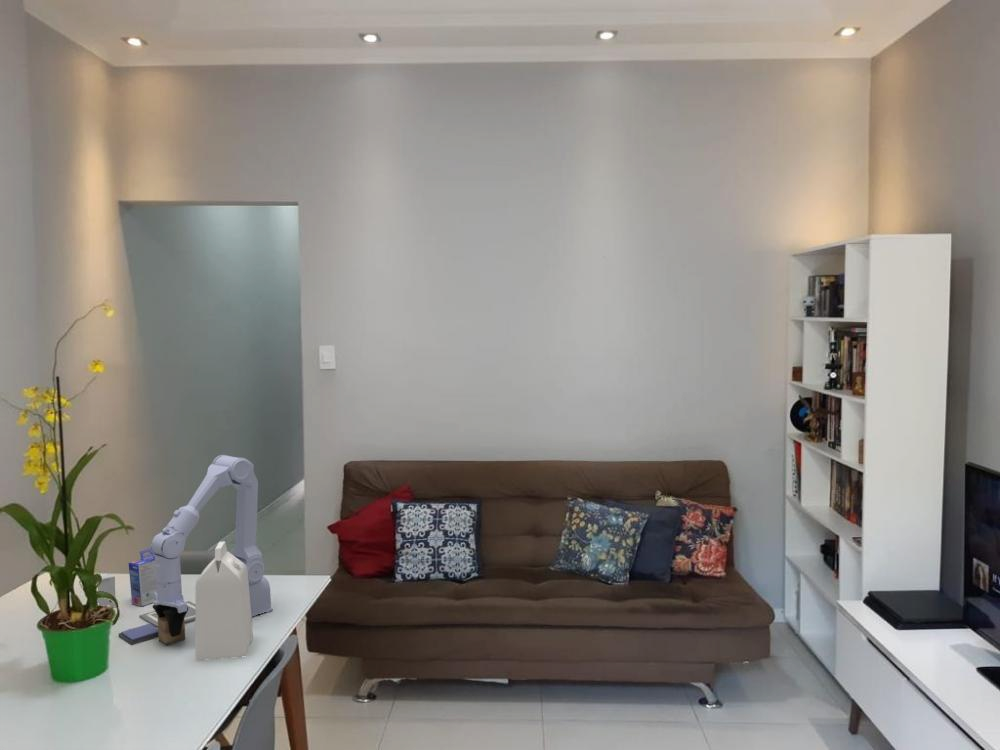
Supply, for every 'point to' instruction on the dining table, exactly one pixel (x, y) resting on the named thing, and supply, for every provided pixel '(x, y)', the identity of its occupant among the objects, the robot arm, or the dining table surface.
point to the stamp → (168, 632)
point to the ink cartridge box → (143, 579)
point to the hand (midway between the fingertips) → (171, 633)
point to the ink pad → (139, 634)
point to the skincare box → (107, 588)
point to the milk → (223, 608)
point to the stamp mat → (153, 617)
